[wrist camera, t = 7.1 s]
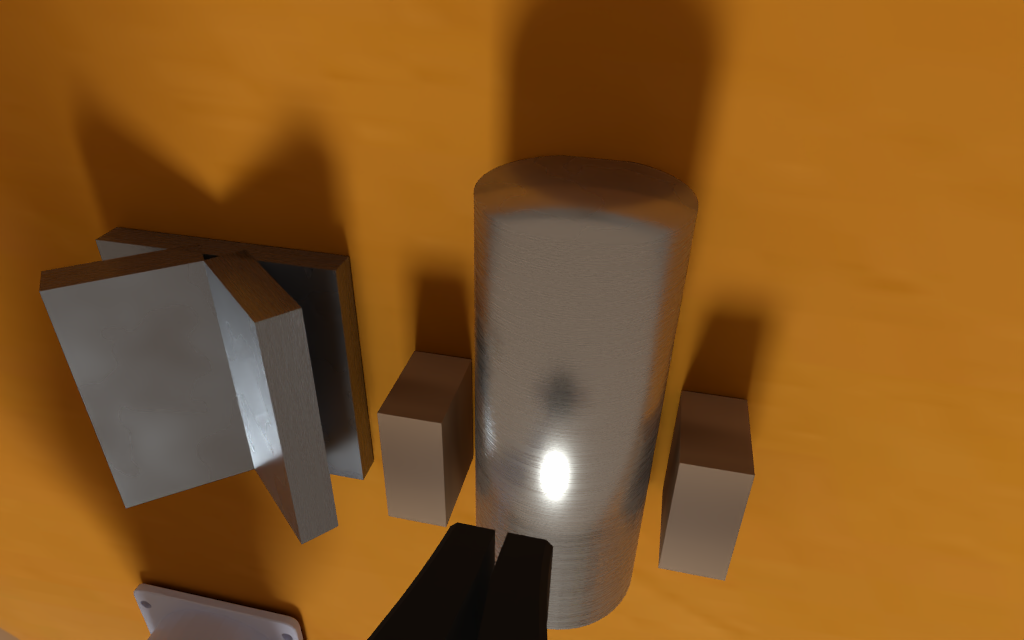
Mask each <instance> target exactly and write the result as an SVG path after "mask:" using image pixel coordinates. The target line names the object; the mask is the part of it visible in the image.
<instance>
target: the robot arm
mask: <svg viewBox="0 0 1024 640" xmlns="http://www.w3.org/2000/svg"><path fill="white" fill-rule="evenodd" d="M552 558H553V546H552V545H551V544H550V543H549V542H548V541H547V540H545V539H540V538H535V537H530V536H525V535H519V534H514V533H509V532H507V535H506V537H505V540H504V543H503V545H502V548H501V550H500V553H499V556H498V558H497V561H496V564H495V530H493V529H488V528H483V527H478V526H473V525H468V524H462V523H456V524H454V525H452V526H450V528H449V530H448V531H447V533H446V534H445V536H444V538H443V539H442V541H441V542H440V544H439V545H438V547H437V548H436V550H435V551H434V553H433V554H432V556H431V557H430V559H429V560H428V561H427V563H426V564H425V566H424V567H423V569H422V570H421V571H420V573H419V574H418V575H417V577H416V578H415V580H414V581H413V582H412V584H411V585H410V586H409V588H408V589H407V590H406V592H405V593H404V594H403V596H402V597H401V598H400V600H399V601H398V602H397V603H396V605H395V606H394V607H393V608H392V610H391V611H390V612H389V613H388V615H387V616H386V617H385V618H384V620H383V621H382V622H381V623H380V625H379V626H378V627H377V628H376V630H375V631H374V632H373V633H372V635H371V636H370V637H369V638H368V639H367V640H547V621H548V609H549V596H550V583H551V571H552ZM134 596H135V598H136V601H137V603H138V605H139V608H140V610H141V612H142V615H143V617H144V619H145V622H146V624H147V626H148V629H149V631H150V633H151V636H150V637H149V638H148V640H303V637H302V632H301V628H300V625H299V623H298V621H297V620H296V619H294V618H293V617H290V616H286V615H282V614H277V613H273V612H269V611H264V610H260V609H255V608H251V607H246V606H242V605H237V604H233V603H229V602H224V601H220V600H215V599H211V598H206V597H202V596H197V595H193V594H189V593H184V592H180V591H175V590H171V589H166V588H162V587H157V586H153V585H149V584H140V585H139V586H138V587H137V588H136V589H135V591H134Z"/></svg>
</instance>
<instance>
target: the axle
mask: <svg viewBox="0 0 1024 640" xmlns="http://www.w3.org/2000/svg"><path fill="white" fill-rule="evenodd" d="M697 211H698V200H697V197H696V195H695V194H694V192H693V191H692V190H691V189H690V188H689V187H688V186H687V185H686V184H684V183H683V182H682V181H680V180H679V179H677V178H675V177H673V176H671V175H669V174H667V173H665V172H663V171H660V170H657V169H654V168H652V167H648V166H645V165H642V164H638V163H634V162H626V161H616V160H606V159H595V158H585V157H575V156H565V155H559V156H544V157H536V158H529V159H524V160H519V161H515V162H511V163H508V164H505V165H502V166H499V167H497V168H495V169H493V170H491V171H489V172H488V173H486V174H484V175H483V176H482V177H481V178H480V179H479V180H478V182H477V183H476V185H475V188H474V292H475V450H476V526H478V527H483V528H488V529H493V530H495V564H496V561H497V558H498V556H499V553H500V550H501V548H502V545H503V543H504V540H505V537H506V535H507V532H509V533H514V534H519V535H525V536H530V537H535V538H540V539H545V540H547V541H548V542H549V543H550V544H551V545H552V546H553V558H552V571H551V583H550V596H549V609H548V621H547V629H572V628H578V627H582V626H586V625H589V624H591V623H594V622H596V621H598V620H600V619H602V618H603V617H605V616H607V615H608V614H609V613H610V612H612V611H613V610H614V609H615V608H616V607H617V606H618V605H619V604H620V602H621V601H622V599H623V598H624V596H625V595H626V593H627V590H628V588H629V586H630V582H631V577H632V572H633V566H634V561H635V555H636V550H637V544H638V539H639V533H640V528H641V522H642V516H643V511H644V505H645V500H646V494H647V489H648V483H649V478H650V472H651V467H652V461H653V455H654V450H655V444H656V439H657V433H658V428H659V422H660V417H661V411H662V406H663V400H664V394H665V389H666V383H667V378H668V372H669V367H670V361H671V356H672V350H673V344H674V339H675V333H676V328H677V322H678V317H679V311H680V306H681V300H682V295H683V289H684V283H685V278H686V272H687V267H688V261H689V256H690V250H691V245H692V239H693V234H694V228H695V222H696V217H697Z"/></svg>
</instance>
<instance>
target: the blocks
mask: <svg viewBox="0 0 1024 640" xmlns="http://www.w3.org/2000/svg"><path fill="white" fill-rule="evenodd" d="M377 414H378V423H379V432H380V441H381V450H382V459H383V468H384V477H385V487H386V496H387V505H388V514H389V516H392V517H397V518H402V519H407V520H413V521H418V522H423V523H428V524H433V525H439V526H444V527H446V526H447V524H448V521H449V519H450V516H451V513H452V511H453V508H454V506H455V503H456V501H457V498H458V495H459V493H460V490H461V488H462V485H463V482H464V480H465V477H466V475H467V472H468V470H469V467H470V464H471V462H472V459H473V418H472V359H465V358H459V357H452V356H445V355H438V354H432V353H425V352H418V351H414V353H413V355H412V356H411V358H410V360H409V361H408V363H407V365H406V366H405V368H404V370H403V371H402V373H401V375H400V376H399V378H398V380H397V381H396V383H395V384H394V386H393V388H392V389H391V391H390V393H389V394H388V396H387V398H386V399H385V401H384V403H383V404H382V406H381V408H380V409H379V411H378V413H377ZM754 476H755V474H754V464H753V454H752V444H751V434H750V424H749V414H748V404H747V400H744V399H737V398H730V397H723V396H716V395H710V394H703V393H696V392H689V391H682V392H681V397H680V402H679V407H678V413H677V418H676V423H675V429H674V434H673V439H672V444H671V450H670V455H669V460H668V466H667V471H666V476H665V481H664V487H663V496H662V514H661V533H660V551H659V568H662V569H667V570H672V571H678V572H683V573H688V574H693V575H698V576H704V577H709V578H714V579H719V580H724V581H725V578H726V574H727V571H728V567H729V564H730V560H731V557H732V553H733V550H734V546H735V543H736V539H737V536H738V532H739V529H740V525H741V522H742V518H743V515H744V511H745V508H746V504H747V501H748V497H749V493H750V490H751V486H752V483H753V479H754Z"/></svg>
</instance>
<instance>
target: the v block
mask: <svg viewBox="0 0 1024 640" xmlns="http://www.w3.org/2000/svg"><path fill="white" fill-rule="evenodd" d="M96 243H97V246H98V249H99V252H100V255H101V258H102V261H97V262H92V263H86V264H80V265H75V266H69V267H63V268H58V269H52V270H46V271H41V280H40V290H39V292H40V294H41V297H42V299H43V302H44V304H45V307H46V309H47V312H48V314H49V317H50V319H51V322H52V324H53V327H54V329H55V332H56V334H57V337H58V339H59V342H60V344H61V347H62V349H63V352H64V354H65V357H66V359H67V362H68V365H69V367H70V370H71V372H72V375H73V377H74V380H75V382H76V385H77V387H78V390H79V392H80V395H81V397H82V400H83V402H84V405H85V407H86V410H87V412H88V415H89V417H90V420H91V422H92V425H93V427H94V430H95V432H96V435H97V437H98V440H99V442H100V445H101V447H102V450H103V452H104V455H105V457H106V460H107V462H108V465H109V467H110V470H111V472H112V475H113V477H114V480H115V482H116V485H117V487H118V490H119V492H120V495H121V497H122V500H123V502H124V505H125V507H126V508H129V507H132V506H135V505H138V504H142V503H145V502H148V501H151V500H155V499H158V498H161V497H164V496H168V495H171V494H174V493H177V492H181V491H184V490H187V489H191V488H194V487H197V486H200V485H204V484H207V483H210V482H213V481H217V480H220V479H223V478H226V477H230V476H233V475H236V474H239V473H243V472H246V471H249V470H253V469H255V470H256V472H257V473H258V475H259V477H260V478H261V480H262V481H263V483H264V485H265V486H266V488H267V489H268V491H269V493H270V494H271V496H272V497H273V499H274V501H275V502H276V504H277V505H278V507H279V509H280V510H281V512H282V513H283V515H284V517H285V518H286V520H287V521H288V523H289V525H290V526H291V528H292V529H293V531H294V533H295V534H296V536H297V537H298V539H299V541H300V542H301V544H303V543H305V542H307V541H309V540H311V539H313V538H315V537H317V536H319V535H321V534H323V533H325V532H327V531H329V530H331V529H333V528H335V527H337V526H338V521H337V515H336V509H335V503H334V497H333V492H332V486H331V480H330V474H334V475H339V476H345V477H350V478H355V479H361V480H364V478H365V476H366V474H367V472H368V471H369V469H370V467H371V465H372V463H373V462H374V461H373V453H372V444H371V436H370V428H369V419H368V411H367V403H366V394H365V386H364V378H363V369H362V361H361V353H360V344H359V336H358V328H357V319H356V311H355V302H354V294H353V286H352V277H351V269H350V261H349V256H343V255H335V254H327V253H319V252H311V251H303V250H295V249H287V248H279V247H271V246H263V245H255V244H247V243H239V242H231V241H223V240H214V239H206V238H198V237H190V236H182V235H174V234H166V233H158V232H150V231H142V230H134V229H126V228H118V227H116V228H114V229H113V230H111V231H109V232H108V233H106V234H104V235H103V236H101V237H99V238H98V239H96Z"/></svg>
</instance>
